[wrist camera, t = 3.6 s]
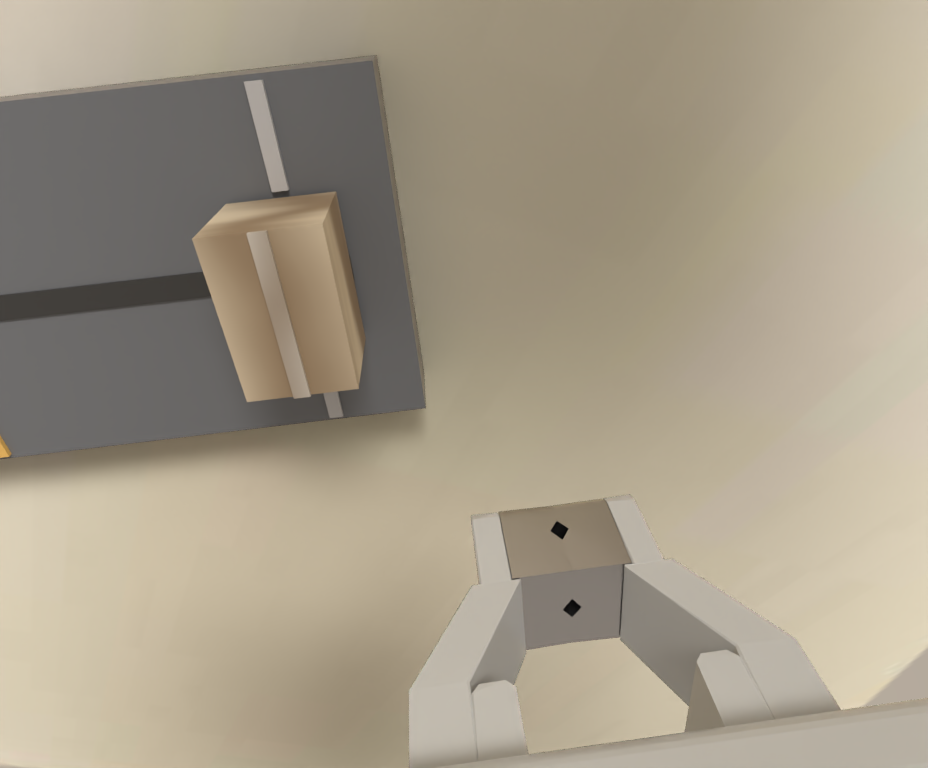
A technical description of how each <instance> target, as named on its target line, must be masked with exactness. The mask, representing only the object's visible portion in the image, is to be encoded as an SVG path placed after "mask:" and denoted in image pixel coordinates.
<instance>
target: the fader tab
mask: <svg viewBox="0 0 928 768" xmlns="http://www.w3.org/2000/svg"><path fill="white" fill-rule="evenodd" d="M192 241H193V244H194V246H195V249H196V252H197V255H198V258H199V261H200V264H201V267H202V270H203V273H204V276H205V279H206V282H207V285H208V288H209V291H210V294H211V297H212V300H213V303H214V306H215V309H216V312H217V315H218V318H219V321H220V324H221V326H222V329H223V332H224V335H225V338H226V341H227V344H228V347H229V350H230V353H231V356H232V359H233V362H234V365H235V368H236V371H237V374H238V377H239V380H240V383H241V386H242V389H243V392H244V395H245V398H246V401H247V402H253V401H261V400H269V399H278V398H286V397H293V398H294V399H296V398H305V397H311V394H320V393H328V392H337V391H345V390H353V389H359V382H360V375H361V368H362V361H363V353H364V346H365V339H366V337H365V333H364V328H363V323H362V318H361V313H360V308H359V303H358V298H357V293H356V288H355V283H354V278H353V273H352V268H351V263H350V258H349V253H348V248H347V243H346V238H345V233H344V228H343V223H342V218H341V213H340V208H339V203H338V198H337V193H336V191H335V192H326V193H318V194H309V195H300V196H291V197H283V198H274V199H265V200H256V201H248V202H239V203H230V204H225V205H224V206H223V207H222V209H221V210H220V211H219V212H218V213H217V214H216V215H215V216H214V217H213V218H212V219H211V220H210V221H209V222H208V223H207V224H206V225H205V226H204V227H203V228H202V229H201V230H200V231H199V232H198V233H197V234H196V235H195V236H194V237H193V238H192Z"/></svg>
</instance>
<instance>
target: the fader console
mask: <svg viewBox="0 0 928 768" xmlns="http://www.w3.org/2000/svg"><path fill="white" fill-rule="evenodd" d="M335 191H336V193H337V198H338V203H339V208H340V213H341V218H342V223H343V228H344V233H345V238H346V243H347V248H348V253H349V258H350V263H351V268H352V273H353V278H354V283H355V288H356V293H357V298H358V303H359V308H360V313H361V318H362V323H363V328H364V333H365V337H366V339H365V346H364V353H363V361H362V368H361V375H360V382H359V389H353V390H345V391H337V392H328V393H320V394H311V397H305V398H296V399H294V398H293V397H286V398H278V399H269V400H261V401H253V402H247V401H246V398H245V395H244V392H243V389H242V386H241V383H240V380H239V377H238V374H237V371H236V368H235V365H234V362H233V359H232V356H231V353H230V350H229V347H228V344H227V341H226V338H225V335H224V332H223V329H222V326H221V324H220V321H219V318H218V315H217V312H216V309H215V306H214V303H213V300H212V297H211V294H210V291H209V288H208V285H207V282H206V279H205V276H204V273H203V270H202V267H201V264H200V261H199V258H198V255H197V252H196V249H195V246H194V244H193V241H192V238H193V237H194V236H195V235H196V234H197V233H198V232H199V231H200V230H201V229H202V228H203V227H204V226H205V225H206V224H207V223H208V222H209V221H210V220H211V219H212V218H213V217H214V216H215V215H216V214H217V213H218V212H219V211H220V210H221V209H222V207H223V206H224V205H225V204H230V203H239V202H248V201H256V200H265V199H274V198H283V197H291V196H300V195H309V194H318V193H326V192H335ZM422 408H426V404H425V377H424V369H423V362H422V355H421V348H420V342H419V335H418V328H417V322H416V315H415V308H414V302H413V295H412V288H411V281H410V275H409V268H408V261H407V255H406V248H405V241H404V234H403V228H402V221H401V214H400V208H399V201H398V194H397V187H396V181H395V174H394V167H393V161H392V154H391V147H390V140H389V134H388V127H387V120H386V114H385V107H384V100H383V94H382V87H381V80H380V73H379V67H378V60H377V55H375V56H366V57H357V58H348V59H339V60H330V61H321V62H312V63H303V64H294V65H284V66H275V67H266V68H257V69H248V70H239V71H230V72H221V73H212V74H203V75H194V76H185V77H176V78H167V79H158V80H149V81H140V82H131V83H122V84H113V85H104V86H95V87H86V88H77V89H68V90H59V91H50V92H41V93H32V94H23V95H14V96H5V97H0V459H5V458H13V457H22V456H30V455H38V454H47V453H55V452H64V451H72V450H80V449H89V448H97V447H105V446H114V445H122V444H130V443H139V442H147V441H155V440H164V439H172V438H180V437H189V436H197V435H205V434H214V433H222V432H230V431H239V430H247V429H256V428H264V427H272V426H281V425H289V424H297V423H306V422H314V421H322V420H331V419H339V418H347V417H356V416H364V415H372V414H381V413H389V412H397V411H406V410H414V409H422Z"/></svg>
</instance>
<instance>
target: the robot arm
mask: <svg viewBox="0 0 928 768" xmlns="http://www.w3.org/2000/svg"><path fill="white" fill-rule="evenodd" d="M471 525H472V533H473V541H474V550H475V558H476V566H477V575H478V583H479V584H478V585H472V586H471V587H470V589H469V591H468V592H467V594H466V596H465V598H464V599H463V601H462V603H461V604H460V606H459V608H458V609H457V611H456V613H455V614H454V616H453V618H452V619H451V621H450V623H449V624H448V626H447V628H446V629H445V631H444V633H443V634H442V636H441V638H440V639H439V641H438V643H437V645H436V646H435V648H434V650H433V651H432V653H431V655H430V656H429V658H428V660H427V661H426V663H425V665H424V666H423V668H422V670H421V671H420V673H419V675H418V676H417V678H416V680H415V681H414V683H413V685H412V686H411V688H410V690H409V768H928V698H923V699H917V700H909V701H902V702H895V703H888V704H881V705H873V706H866V707H859V708H852V709H845V710H841V709H840V707H839V706H838V704H837V703H836V701H835V699H834V698H833V696H832V695H831V693H830V692H829V690H828V688H827V687H826V685H825V684H824V682H823V681H822V679H821V677H820V676H819V674H818V673H817V671H816V670H815V668H814V666H813V665H812V663H811V662H810V660H809V659H808V657H807V655H806V654H805V652H804V651H803V649H802V648H801V646H800V645H799V643H798V641H797V640H796V638H794V637H793V636H791V635H790V634H788V633H786V632H785V631H783V630H782V629H780V628H779V627H777V626H776V625H774V624H773V623H771V622H769V621H768V620H766V619H765V618H763V617H762V616H760V615H759V614H757V613H756V612H754V611H753V610H751V609H749V608H748V607H746V606H745V605H743V604H742V603H740V602H739V601H737V600H736V599H734V598H733V597H731V596H729V595H728V594H726V593H725V592H723V591H722V590H720V589H719V588H717V587H716V586H714V585H712V584H711V583H709V582H708V581H706V580H705V579H703V578H702V577H700V576H699V575H697V574H696V573H694V572H692V571H691V570H689V569H688V568H686V567H685V566H683V565H682V564H680V563H679V562H677V561H675V560H674V559H665V560H664V558H663V556H662V554H661V552H660V550H659V548H658V546H657V544H656V542H655V539H654V537H653V535H652V533H651V531H650V529H649V527H648V525H647V523H646V521H645V519H644V517H643V515H642V513H641V511H640V509H639V507H638V505H637V503H636V501H635V499H634V497H632V496H631V495H630V494H629V495H622V496H615V497H608V498H603V499H596V500H589V501H582V502H574V503H567V504H560V505H553V506H547V507H537V508H528V509H519V510H509V511H500V512H498V513H487V514H477V515H471ZM617 637H620V640H621V641H622V642H623V643H624V644H625V645H626V646H627V647H628V648H629V649H630V650H631V651H632V652H633V653H634V654H635V655H636V656H637V657H639V658H640V659H641V660H642V661H643V662H644V663H645V664H646V665H647V666H648V667H649V668H650V669H651V670H652V671H653V672H654V673H655V674H656V675H657V676H658V677H659V678H660V679H661V680H662V681H663V682H664V683H665V684H666V685H667V686H668V687H669V688H670V689H671V690H672V691H673V692H674V693H676V694H677V695H678V696H679V697H680V698H681V699H682V700H683V701H684V702H685V703H686V704H687V705H688V706H689V709H688V715H687V721H686V726H685V732H684V733H677V734H670V735H663V736H655V737H648V738H641V739H634V740H627V741H620V742H613V743H606V744H598V745H591V746H584V747H577V748H570V749H563V750H556V751H549V752H542V753H534V754H528V749H527V744H526V738H525V732H524V727H523V721H522V716H521V710H520V705H519V699H518V694H517V688H516V686H514V683H515V681H516V678H517V675H518V673H519V670H520V668H521V665H522V662H523V660H524V657H525V655H526V650H529V649H535V648H541V647H547V646H553V645H559V644H565V643H571V642H580V641H589V640H598V639H607V638H617Z"/></svg>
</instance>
